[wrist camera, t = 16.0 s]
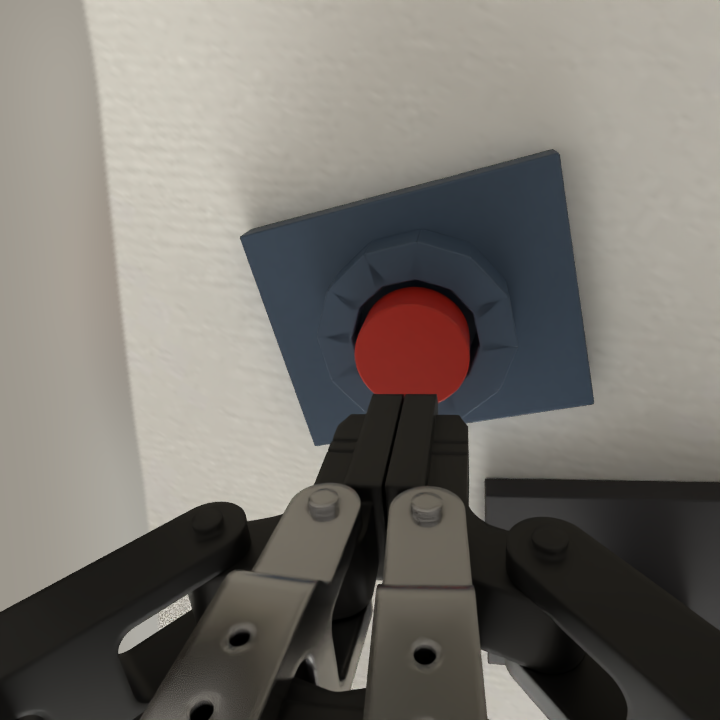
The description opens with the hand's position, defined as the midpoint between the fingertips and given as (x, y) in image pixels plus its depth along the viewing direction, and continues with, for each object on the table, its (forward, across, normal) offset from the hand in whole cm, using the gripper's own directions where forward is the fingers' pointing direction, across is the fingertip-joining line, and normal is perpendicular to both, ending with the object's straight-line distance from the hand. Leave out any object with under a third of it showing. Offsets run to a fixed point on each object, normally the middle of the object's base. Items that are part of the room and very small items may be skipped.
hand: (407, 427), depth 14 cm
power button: (+6, 0, 0) cm, 6 cm away
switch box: (+9, 0, 0) cm, 9 cm away
